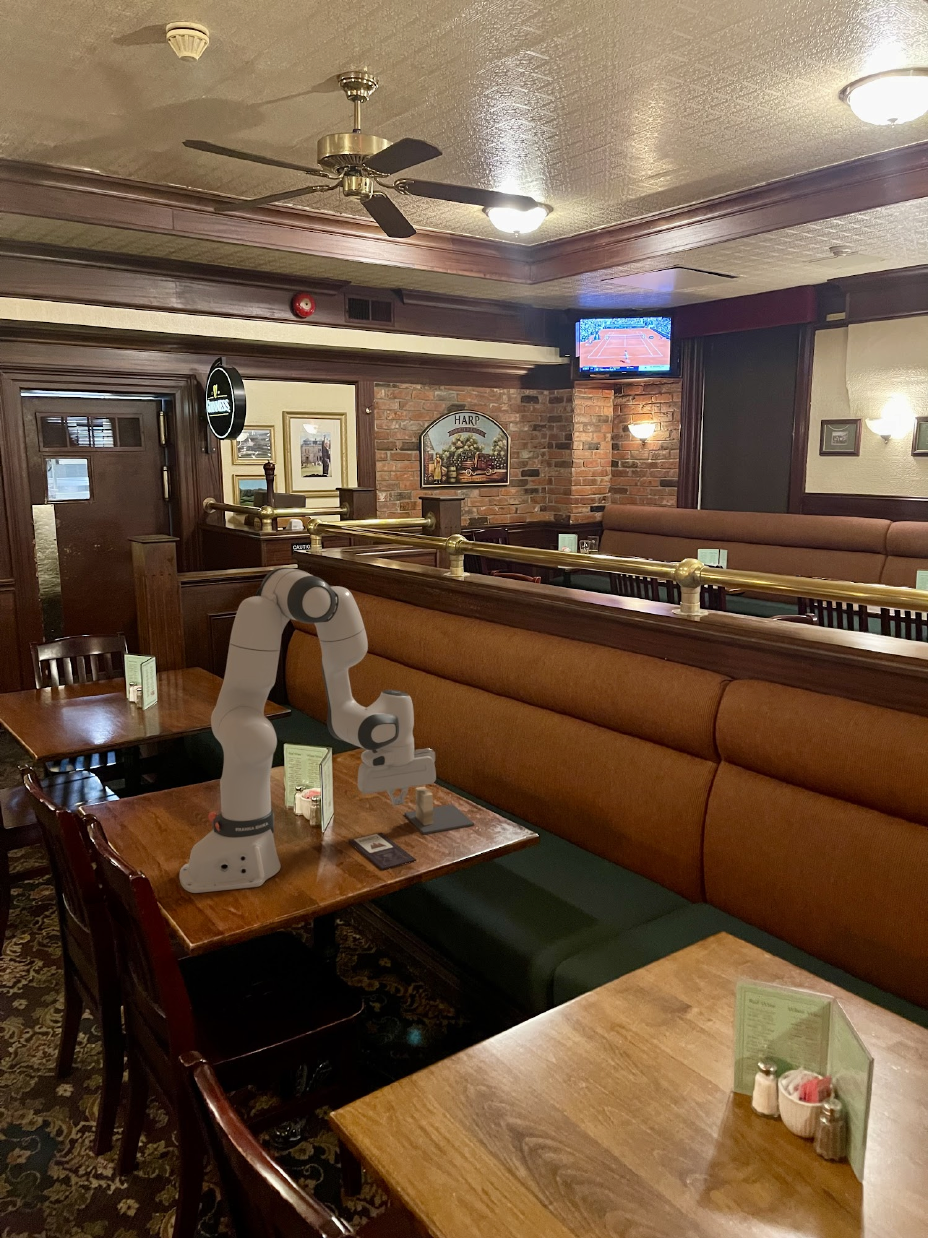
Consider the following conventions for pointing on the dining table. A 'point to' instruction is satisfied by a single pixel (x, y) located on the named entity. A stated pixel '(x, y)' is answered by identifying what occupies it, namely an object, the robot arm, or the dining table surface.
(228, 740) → the robot arm
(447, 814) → the bar mat
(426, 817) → the beech slab
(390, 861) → the chocolate bar
